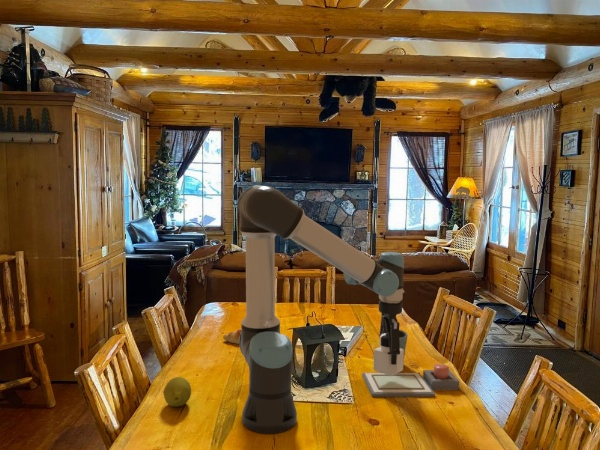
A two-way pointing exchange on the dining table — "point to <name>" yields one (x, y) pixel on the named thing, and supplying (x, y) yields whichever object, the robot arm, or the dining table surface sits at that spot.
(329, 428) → the dining table surface
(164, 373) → the dining table surface
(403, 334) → the grey cylindrical container
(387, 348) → the medicine bottle
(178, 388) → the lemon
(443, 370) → the button
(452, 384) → the button housing
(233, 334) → the croissant
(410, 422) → the dining table surface
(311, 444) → the dining table surface
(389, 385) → the picture board
